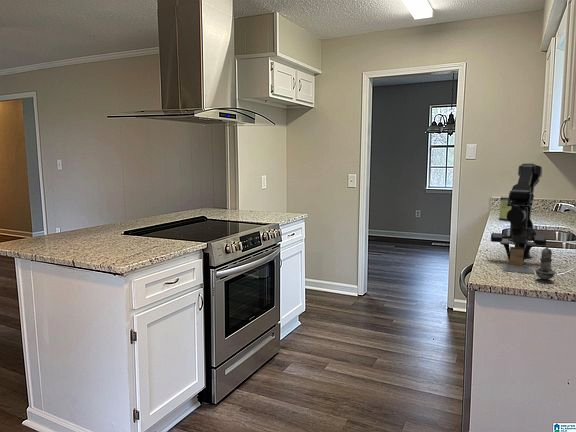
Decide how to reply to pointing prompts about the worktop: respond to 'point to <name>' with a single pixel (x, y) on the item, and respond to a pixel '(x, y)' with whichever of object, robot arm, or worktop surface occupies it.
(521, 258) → the walnut block
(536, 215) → the worktop surface
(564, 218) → the worktop surface
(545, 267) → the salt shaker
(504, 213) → the protein box
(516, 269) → the slate coaster
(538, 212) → the worktop surface
